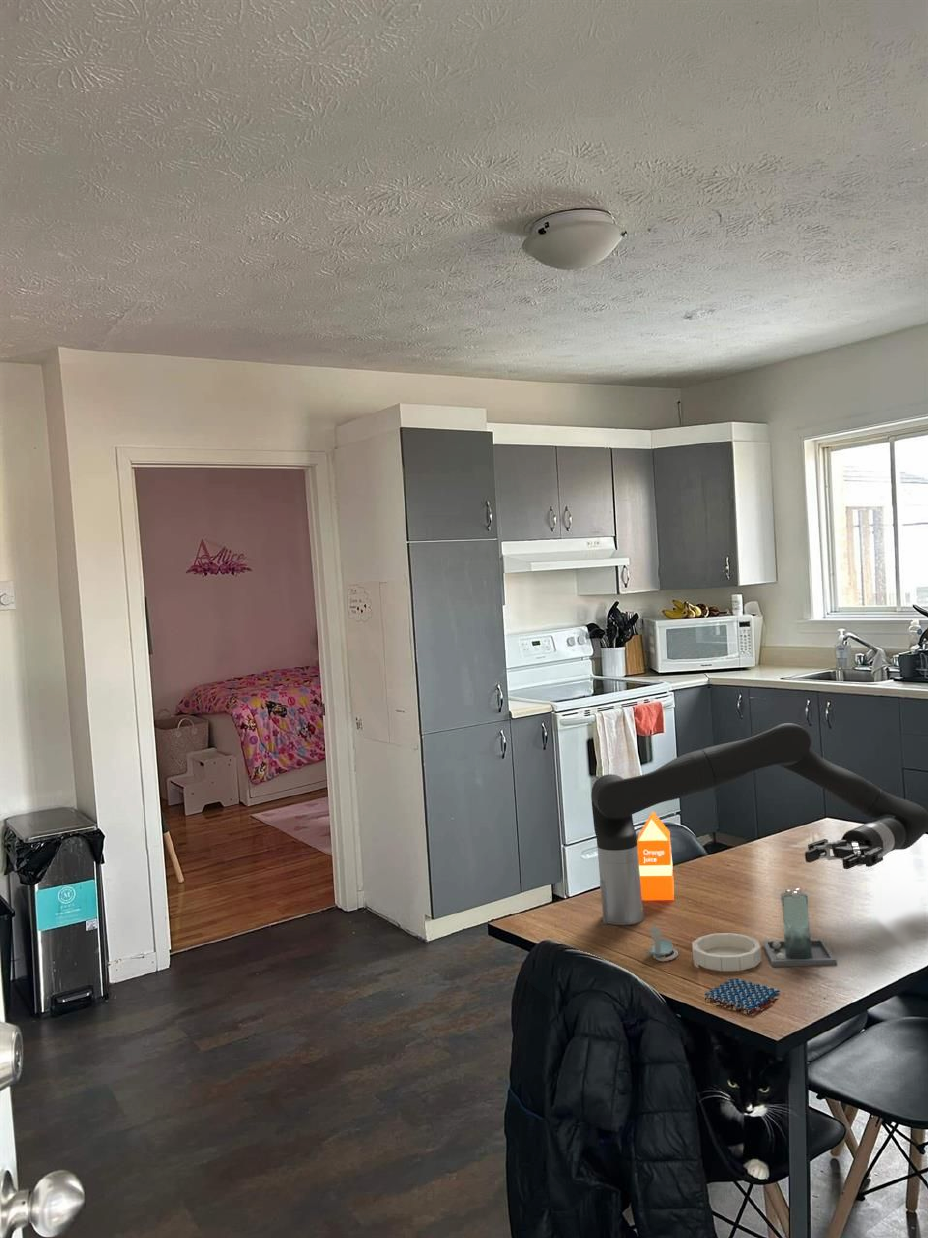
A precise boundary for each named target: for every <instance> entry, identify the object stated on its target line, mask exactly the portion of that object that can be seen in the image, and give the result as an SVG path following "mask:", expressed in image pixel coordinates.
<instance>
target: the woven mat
mask: <svg viewBox="0 0 928 1238" xmlns="http://www.w3.org/2000/svg"><path fill="white" fill-rule="evenodd" d="M723 983H724V984H722V983H721V984H719V985H718V987H717V986H715V987H714V989H715V990H714V989H710V990H709V992H705V993H704V996H707V997H705V998H704V1001H705V1003H707V1002H709V1001H710V1002H711V1003H717V1004H715V1005H716V1006H717V1005H721V1004H723V1006H727V1008H728V1009H730V1008H733V1009H730V1010H732V1011H733V1010H734V1012H737V1010H739V1011H740V1010H742V1011H743V1012H742V1013H743V1014H744V1015H748V1014H750V1016H751V1015H753V1014H755V1015H756V1013H757V1012H758V1013H761V1012H762V1011H763V1010H764V1009H766V1008H767V1007H766V1006H768V1005H769V1004H771V1003H772V1004H775V1003H776V1002H777V1001H778V1000H780V998H774V996H777V995H778V994H779V993H780V992H781V991H780V989H776V988H774V987H770V986H769V987H768V986H767V985H762V984H759V983H757V984H756V983H753V982H752V981H750V982H749V981H746V980H744V979H743V980H742V979H741V978H729V979H728V981H723ZM707 998H708V1000H707ZM709 999H710V1000H709ZM712 999H713V1000H712ZM710 1002H709V1003H710ZM772 1004H771V1005H772ZM721 1006H722V1005H721ZM769 1006H770V1005H769ZM769 1006H768V1007H769ZM740 1007H741V1008H740ZM755 1007H756V1008H755ZM763 1008H764V1009H763ZM728 1009H727V1010H728ZM761 1009H763V1010H761ZM748 1012H750V1013H748ZM747 1013H748V1014H747ZM758 1013H757V1014H758ZM753 1016H754V1015H753Z"/></svg>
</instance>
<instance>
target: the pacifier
mask: <svg viewBox="0 0 928 1238" xmlns="http://www.w3.org/2000/svg"><path fill="white" fill-rule="evenodd" d="M650 936H651V939H652V940H653V943H652V945H651V950H644V953H646V954H648V955H651V956H652V957H653V958H654V957H655V958H656V959H655V958H654V959H655V960H657V961H660V962H669V960H670V961H672V960H674V959H676V958H677V956H678V955H679V952H678V950H676V949H675V948H674V946H673V943H672V942H671V940H669V939H666V938H662V932H661V930H660V928H659V927H658V926H657V925H654V926H652V927H651V929H650ZM672 952H673V953H672ZM671 953H672V954H671ZM666 954H667V955H669V954H671V955H670V956H667V955H666ZM664 956H666V957H664ZM662 957H664V958H662Z"/></svg>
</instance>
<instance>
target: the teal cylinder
mask: <svg viewBox="0 0 928 1238" xmlns="http://www.w3.org/2000/svg"><path fill="white" fill-rule="evenodd" d="M780 900H781V901H780V902H781V914H782V927H783V939H784V941H785V954H786V956H787V957H788V958H791V959H809V958H811V957H812V948H811V939H812V937H811V926H810V925H811V924H810V915H809V914H810V912H809V902H808V901H809V899H808V893H806V892H803V890H801V888H797V887H796V888H794V889H793V890H792V889H786V890H784V892H783V893H781V894H780Z"/></svg>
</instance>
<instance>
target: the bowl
mask: <svg viewBox="0 0 928 1238" xmlns="http://www.w3.org/2000/svg"><path fill="white" fill-rule="evenodd" d="M691 948H692V957H693V964H694V967H695V968H697V969H699V966H700V967H702V968H704V969H706V970H712V971H717V972H740V971H741V972H742V971H746V970H749V969H752V968H755V967H757V966H758V965H759V964H760V963H761V962H762V947H761V944H760V942H759V940H757V939H756V938H753V937H751V936H748V935H745V934H740V933H733V932H725V933H724V932H721V933H719V932H718V933H710V934H705V935H703V936H699V937H697V938H696V939H695V940H694V941H692V942H691Z"/></svg>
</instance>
